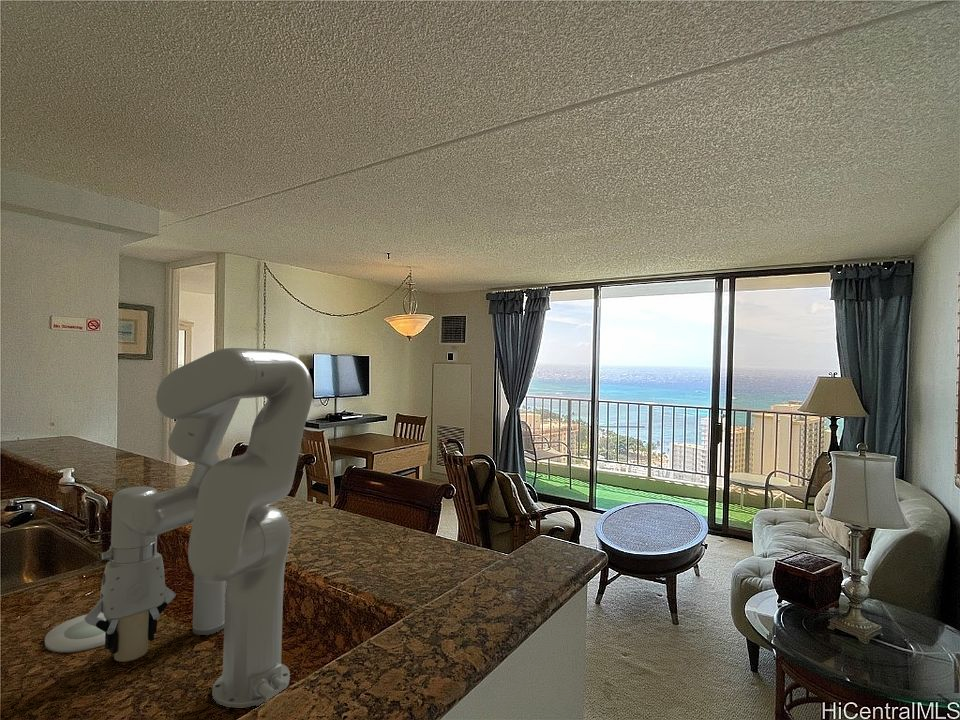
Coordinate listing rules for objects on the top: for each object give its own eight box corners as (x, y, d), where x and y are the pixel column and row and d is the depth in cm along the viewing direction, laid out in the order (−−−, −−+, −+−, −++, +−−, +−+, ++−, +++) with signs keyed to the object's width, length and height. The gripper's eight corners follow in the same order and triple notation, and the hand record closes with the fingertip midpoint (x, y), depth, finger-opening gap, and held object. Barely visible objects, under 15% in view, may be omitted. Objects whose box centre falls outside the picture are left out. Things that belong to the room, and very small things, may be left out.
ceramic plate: (144, 631, 109) (144, 626, 109) (53, 661, 98) (54, 655, 98) (122, 608, 119) (122, 603, 119) (37, 633, 107) (37, 628, 107)
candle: (120, 665, 97) (121, 612, 97) (109, 655, 100) (110, 603, 100) (152, 653, 101) (154, 602, 101) (141, 643, 105) (142, 593, 105)
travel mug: (184, 632, 109) (187, 537, 109) (213, 618, 115) (215, 529, 115) (203, 640, 106) (206, 543, 106) (231, 626, 112) (234, 534, 112)
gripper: (85, 569, 92) (82, 671, 92) (189, 545, 105) (186, 634, 105) (74, 558, 97) (71, 655, 97) (175, 536, 110) (172, 622, 110)
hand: (131, 643), depth 101 cm, fingers closed on candle, 5 cm apart
